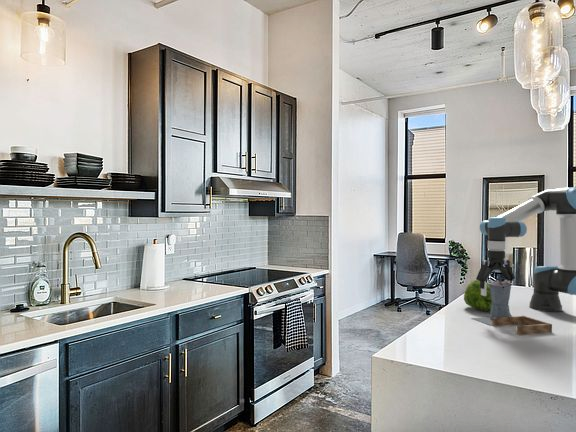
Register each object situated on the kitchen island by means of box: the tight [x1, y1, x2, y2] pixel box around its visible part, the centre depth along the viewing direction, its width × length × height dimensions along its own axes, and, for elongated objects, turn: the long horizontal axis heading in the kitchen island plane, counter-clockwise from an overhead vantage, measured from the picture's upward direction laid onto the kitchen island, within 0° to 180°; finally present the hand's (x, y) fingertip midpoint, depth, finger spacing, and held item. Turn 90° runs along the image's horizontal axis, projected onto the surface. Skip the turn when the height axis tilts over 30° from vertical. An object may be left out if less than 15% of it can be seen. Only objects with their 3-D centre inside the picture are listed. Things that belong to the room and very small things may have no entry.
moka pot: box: [489, 277, 512, 320], centre depth 203 cm, size 10×15×20 cm, turn 171°
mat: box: [471, 316, 493, 326], centre depth 202 cm, size 16×12×1 cm
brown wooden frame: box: [491, 315, 553, 336], centre depth 189 cm, size 18×15×4 cm
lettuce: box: [463, 279, 492, 312], centre depth 223 cm, size 16×21×15 cm
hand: (495, 294), depth 202 cm, fingers open, 13 cm apart
